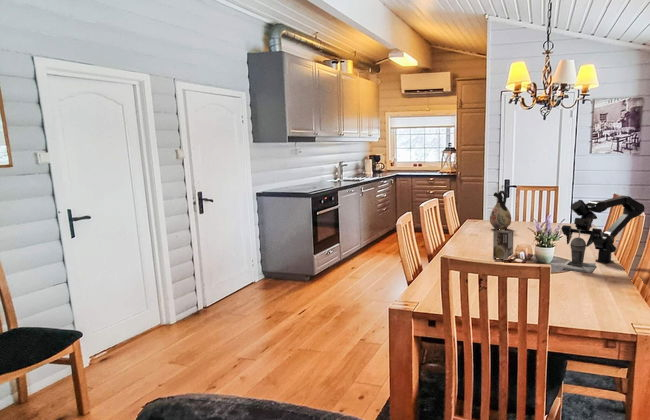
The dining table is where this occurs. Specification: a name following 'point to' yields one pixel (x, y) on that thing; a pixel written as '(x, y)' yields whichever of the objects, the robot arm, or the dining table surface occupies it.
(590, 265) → the flared docking tray
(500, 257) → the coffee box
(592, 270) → the gray raised edge tray
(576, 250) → the beverage cup
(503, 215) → the ceramic jug
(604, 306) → the dining table surface
